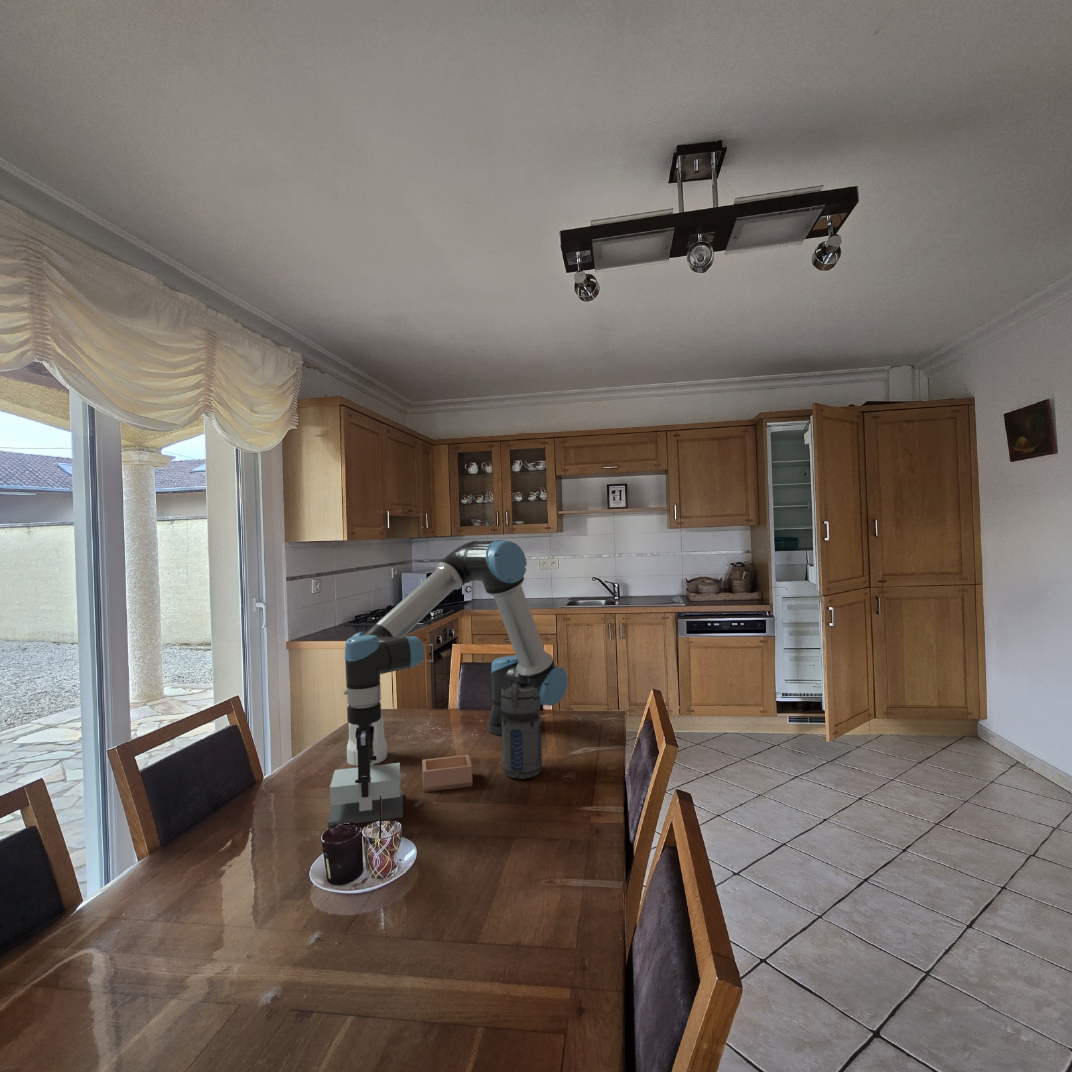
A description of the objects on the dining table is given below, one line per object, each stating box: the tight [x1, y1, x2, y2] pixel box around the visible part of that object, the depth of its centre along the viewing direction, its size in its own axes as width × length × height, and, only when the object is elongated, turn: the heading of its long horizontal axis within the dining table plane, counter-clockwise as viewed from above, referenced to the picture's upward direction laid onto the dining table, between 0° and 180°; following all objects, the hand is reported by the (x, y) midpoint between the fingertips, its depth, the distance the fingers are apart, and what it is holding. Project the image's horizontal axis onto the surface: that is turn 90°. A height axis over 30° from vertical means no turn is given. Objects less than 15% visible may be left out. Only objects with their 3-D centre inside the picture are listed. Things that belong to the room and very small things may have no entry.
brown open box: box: [421, 754, 473, 793], centre depth 152 cm, size 12×8×5 cm, turn 102°
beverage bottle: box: [501, 675, 543, 780], centre depth 157 cm, size 10×13×25 cm
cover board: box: [329, 762, 401, 807], centre depth 138 cm, size 15×10×4 cm, turn 102°
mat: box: [327, 790, 404, 828], centre depth 138 cm, size 16×12×1 cm
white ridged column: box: [346, 700, 388, 767], centre depth 170 cm, size 11×11×25 cm
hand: (367, 799), depth 138 cm, fingers closed on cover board, 10 cm apart
